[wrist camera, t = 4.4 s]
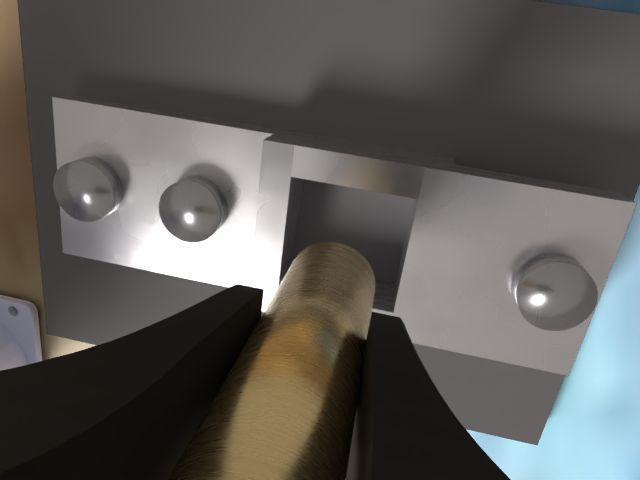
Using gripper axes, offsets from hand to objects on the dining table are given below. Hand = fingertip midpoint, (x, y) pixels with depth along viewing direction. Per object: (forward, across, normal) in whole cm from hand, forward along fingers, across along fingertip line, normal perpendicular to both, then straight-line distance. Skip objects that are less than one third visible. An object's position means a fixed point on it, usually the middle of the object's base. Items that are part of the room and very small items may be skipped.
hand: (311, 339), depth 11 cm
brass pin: (+3, 0, 0) cm, 3 cm away
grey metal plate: (+8, +1, 0) cm, 8 cm away
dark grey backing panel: (+9, +2, 0) cm, 9 cm away
